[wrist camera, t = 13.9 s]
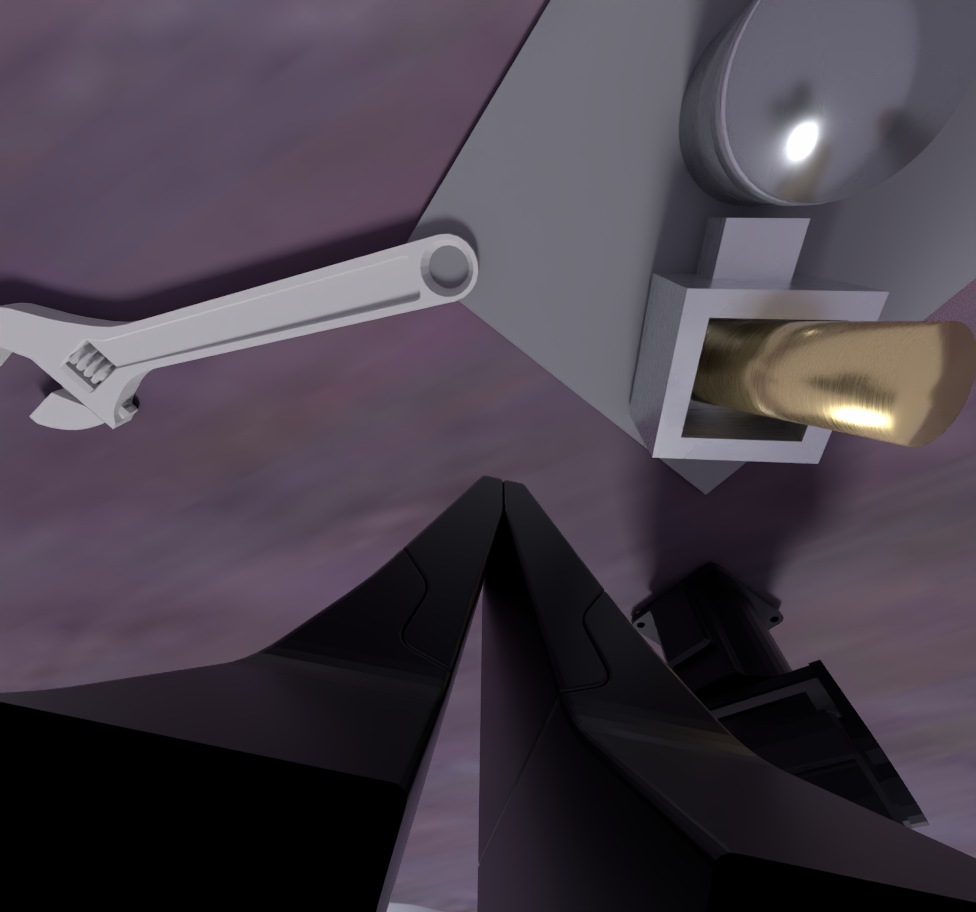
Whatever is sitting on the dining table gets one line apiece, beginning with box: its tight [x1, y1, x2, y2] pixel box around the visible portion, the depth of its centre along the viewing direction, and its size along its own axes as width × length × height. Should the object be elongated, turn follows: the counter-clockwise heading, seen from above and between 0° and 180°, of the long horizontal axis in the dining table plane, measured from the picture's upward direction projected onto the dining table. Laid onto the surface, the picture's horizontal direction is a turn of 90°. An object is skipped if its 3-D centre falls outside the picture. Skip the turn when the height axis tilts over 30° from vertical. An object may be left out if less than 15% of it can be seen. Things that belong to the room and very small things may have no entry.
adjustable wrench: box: [0, 233, 479, 430], centre depth 21 cm, size 25×6×2 cm, turn 99°
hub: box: [679, 0, 976, 206], centre depth 14 cm, size 6×6×5 cm
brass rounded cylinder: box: [690, 321, 976, 447], centre depth 15 cm, size 3×3×8 cm
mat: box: [406, 0, 976, 495], centre depth 17 cm, size 19×18×1 cm
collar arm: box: [629, 217, 889, 464], centre depth 14 cm, size 20×6×4 cm, turn 0°
